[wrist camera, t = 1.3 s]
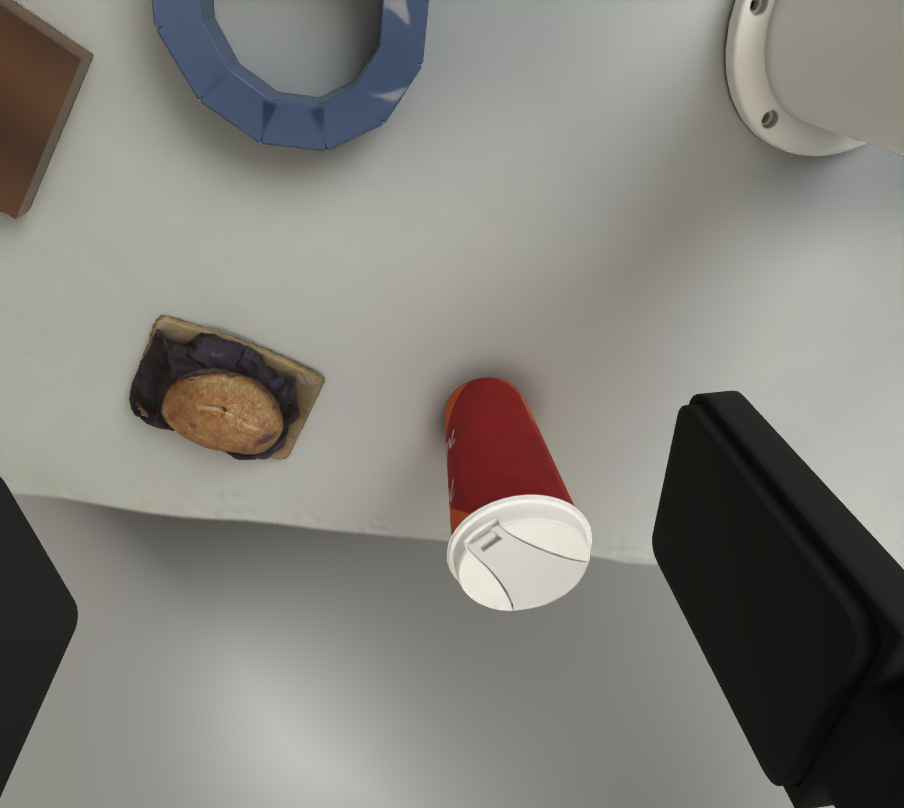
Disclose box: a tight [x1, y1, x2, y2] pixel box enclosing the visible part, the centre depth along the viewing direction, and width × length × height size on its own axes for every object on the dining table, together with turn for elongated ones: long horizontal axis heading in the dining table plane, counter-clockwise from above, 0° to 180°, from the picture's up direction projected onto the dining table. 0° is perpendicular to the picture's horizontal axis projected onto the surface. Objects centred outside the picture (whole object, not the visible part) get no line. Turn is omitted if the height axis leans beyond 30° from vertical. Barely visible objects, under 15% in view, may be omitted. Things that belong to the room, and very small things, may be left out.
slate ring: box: [152, 0, 429, 151], centre depth 28 cm, size 12×12×2 cm
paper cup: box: [445, 378, 592, 611], centre depth 37 cm, size 8×8×14 cm
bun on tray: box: [129, 315, 325, 460], centre depth 38 cm, size 11×8×4 cm
